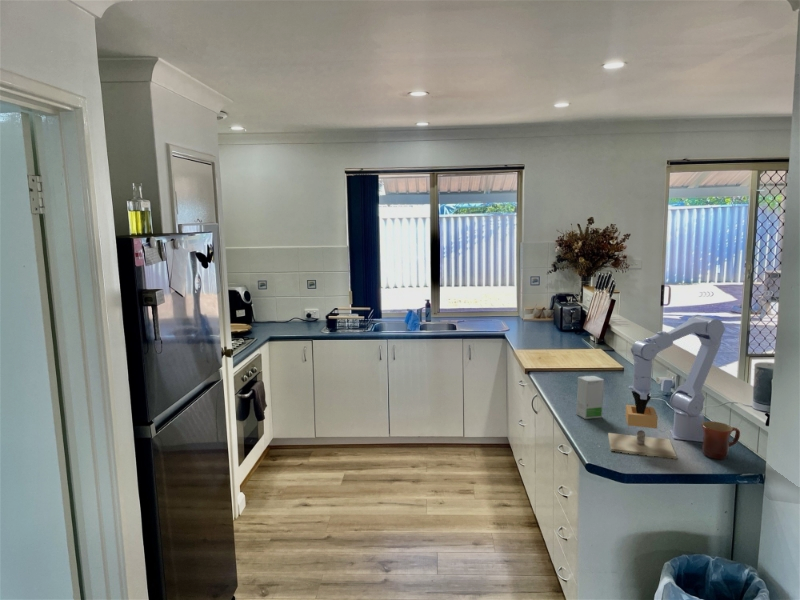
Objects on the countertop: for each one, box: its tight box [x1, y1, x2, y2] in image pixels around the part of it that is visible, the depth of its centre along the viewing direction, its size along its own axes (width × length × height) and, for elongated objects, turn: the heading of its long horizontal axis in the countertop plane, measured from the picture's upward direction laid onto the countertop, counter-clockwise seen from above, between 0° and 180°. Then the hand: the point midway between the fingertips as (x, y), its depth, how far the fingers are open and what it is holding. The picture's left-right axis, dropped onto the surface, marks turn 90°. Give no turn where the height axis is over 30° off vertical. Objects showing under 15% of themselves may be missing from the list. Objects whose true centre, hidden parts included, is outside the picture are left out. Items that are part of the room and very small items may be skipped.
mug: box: [701, 420, 741, 460], centre depth 173 cm, size 12×9×10 cm
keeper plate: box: [607, 429, 678, 460], centre depth 181 cm, size 20×14×6 cm
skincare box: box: [575, 375, 605, 420], centre depth 210 cm, size 8×7×16 cm
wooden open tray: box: [624, 404, 658, 429], centre depth 181 cm, size 9×9×4 cm
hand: (639, 412), depth 185 cm, fingers closed on wooden open tray
